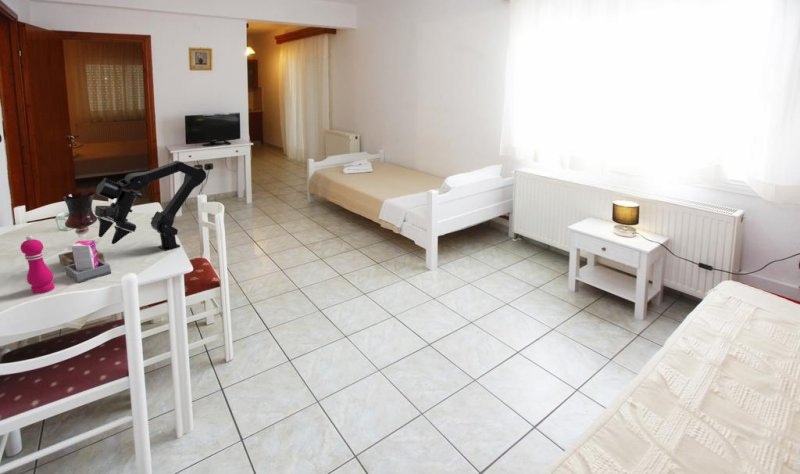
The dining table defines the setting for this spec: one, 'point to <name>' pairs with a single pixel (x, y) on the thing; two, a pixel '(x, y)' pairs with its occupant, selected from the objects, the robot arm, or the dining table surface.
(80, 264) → the supplement box
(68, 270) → the tray
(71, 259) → the holder
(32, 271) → the pepper mill
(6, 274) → the dining table surface
